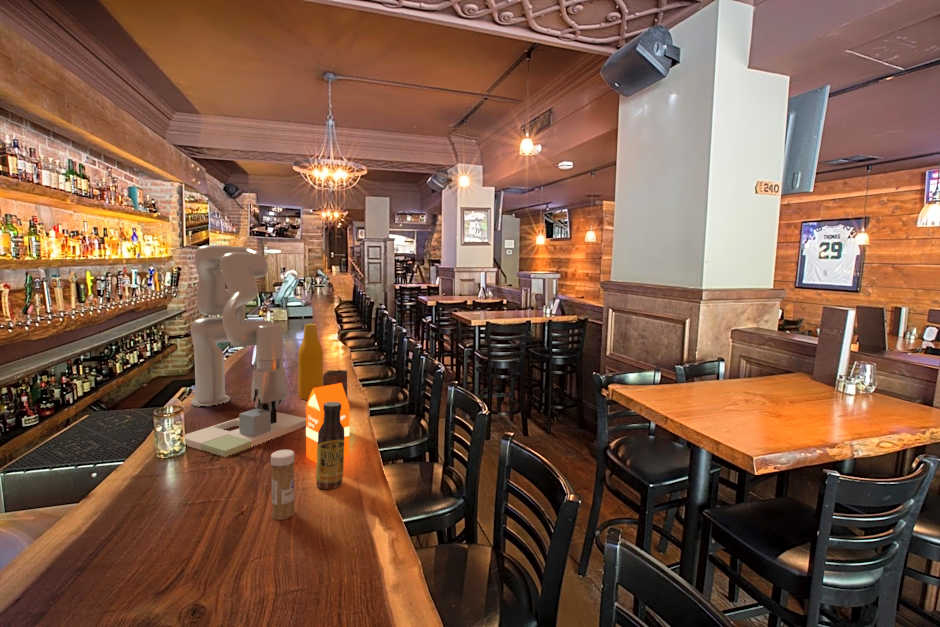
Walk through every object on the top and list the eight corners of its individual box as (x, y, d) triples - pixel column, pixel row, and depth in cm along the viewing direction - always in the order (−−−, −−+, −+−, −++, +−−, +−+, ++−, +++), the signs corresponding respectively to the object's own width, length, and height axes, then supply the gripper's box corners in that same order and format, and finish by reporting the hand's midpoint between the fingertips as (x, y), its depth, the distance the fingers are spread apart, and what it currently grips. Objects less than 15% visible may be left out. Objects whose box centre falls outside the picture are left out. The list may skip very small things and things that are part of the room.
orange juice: (349, 456, 127) (350, 385, 125) (320, 465, 121) (320, 391, 119) (334, 448, 133) (334, 380, 131) (305, 456, 126) (305, 385, 124)
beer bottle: (328, 396, 184) (328, 324, 181) (308, 401, 176) (308, 326, 173) (312, 392, 189) (312, 322, 186) (293, 397, 181) (292, 324, 178)
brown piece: (340, 439, 139) (340, 374, 137) (318, 437, 141) (317, 372, 139) (351, 431, 147) (352, 369, 145) (330, 428, 148) (330, 367, 146)
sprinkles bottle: (293, 519, 95) (292, 456, 94) (269, 521, 94) (268, 458, 93) (296, 508, 100) (295, 448, 98) (273, 510, 99) (272, 449, 97)
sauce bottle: (318, 493, 107) (318, 409, 105) (314, 481, 112) (313, 401, 110) (347, 487, 110) (347, 405, 108) (341, 476, 115) (341, 398, 113)
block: (239, 433, 136) (239, 413, 136) (256, 427, 142) (256, 408, 141) (253, 437, 134) (253, 417, 133) (270, 430, 139) (270, 411, 139)
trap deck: (178, 443, 133) (178, 436, 133) (265, 414, 160) (265, 409, 159) (225, 457, 124) (225, 450, 124) (308, 424, 151) (308, 419, 151)
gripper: (280, 358, 150) (281, 414, 151) (240, 367, 136) (241, 427, 138) (297, 361, 146) (298, 417, 148) (258, 370, 133) (259, 432, 135)
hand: (270, 422), depth 143 cm, fingers closed
